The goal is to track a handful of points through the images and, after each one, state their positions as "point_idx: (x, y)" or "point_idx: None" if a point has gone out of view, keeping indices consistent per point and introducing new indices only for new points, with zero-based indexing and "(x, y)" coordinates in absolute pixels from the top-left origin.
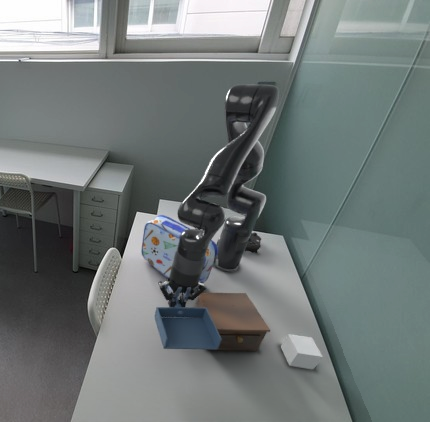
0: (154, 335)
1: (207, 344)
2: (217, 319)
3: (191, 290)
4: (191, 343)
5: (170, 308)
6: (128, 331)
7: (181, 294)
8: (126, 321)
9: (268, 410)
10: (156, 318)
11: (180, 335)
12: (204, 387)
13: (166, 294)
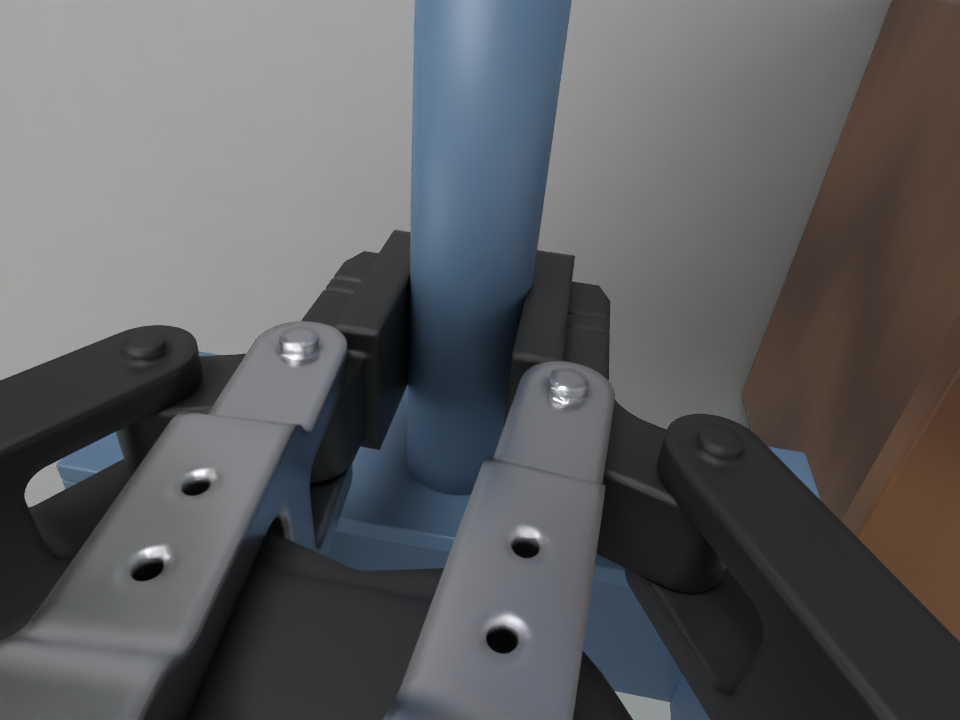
0: (347, 216)
1: (613, 668)
2: (936, 576)
3: (732, 572)
4: None
5: None
6: (120, 148)
7: (512, 409)
8: (92, 24)
9: None
10: None
11: (404, 568)
12: None
13: (42, 584)
